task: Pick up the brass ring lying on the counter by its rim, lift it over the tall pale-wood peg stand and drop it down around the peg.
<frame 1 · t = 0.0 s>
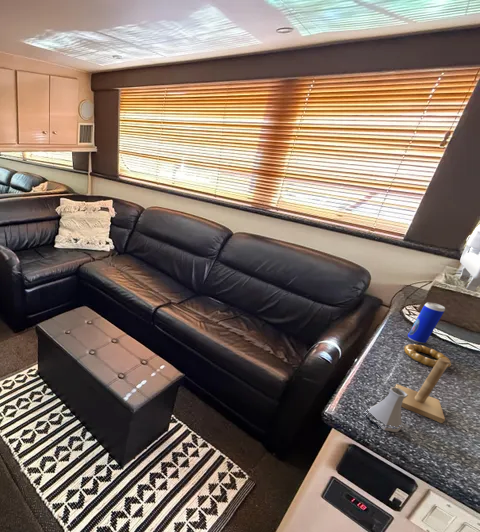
hand: (466, 285, 100), 27 cm above the counter, tool pointing down, fingers open, 8 cm apart
beverage can: (415, 340, 120), on the counter
ring: (426, 355, 108), point 1 cm above the counter
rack: (416, 404, 89), on the counter
flask: (381, 421, 83), on the counter
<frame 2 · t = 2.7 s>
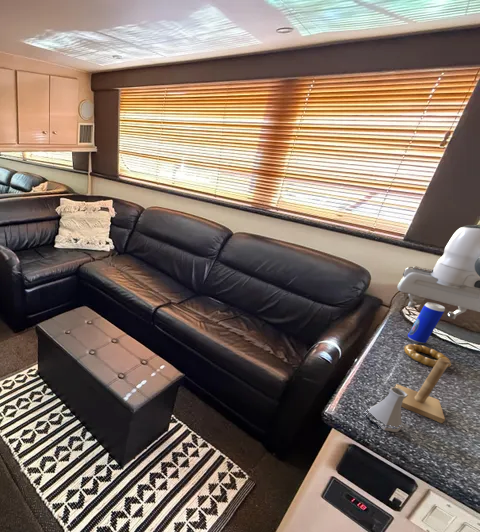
hand: (430, 312, 105), 17 cm above the counter, tool pointing down, fingers open, 8 cm apart
nothing on the counter moved.
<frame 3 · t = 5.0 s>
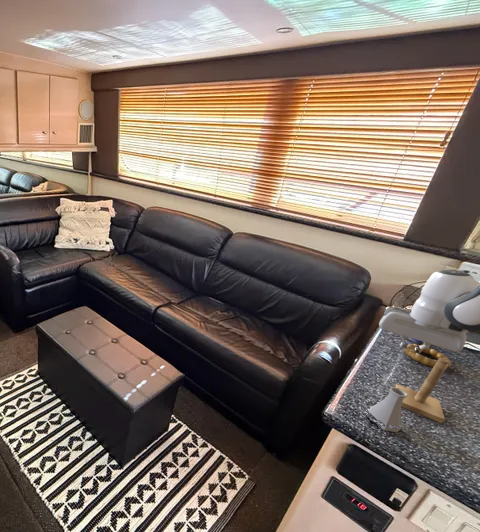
hand: (409, 349, 111), 2 cm above the counter, tool pointing down, fingers closed on ring, 2 cm apart
ring: (426, 355, 108), point 1 cm above the counter, touching gripper
everything else where it was.
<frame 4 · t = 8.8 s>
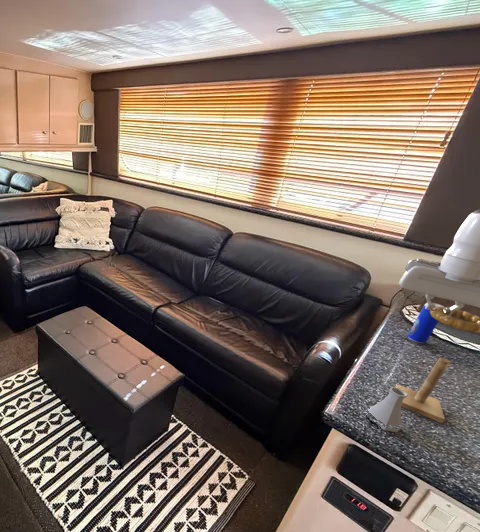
hand: (437, 311, 91), 23 cm above the counter, tool pointing down, fingers closed on ring, 2 cm apart
ring: (458, 319, 88), point 23 cm above the counter, touching gripper
everything else where it was.
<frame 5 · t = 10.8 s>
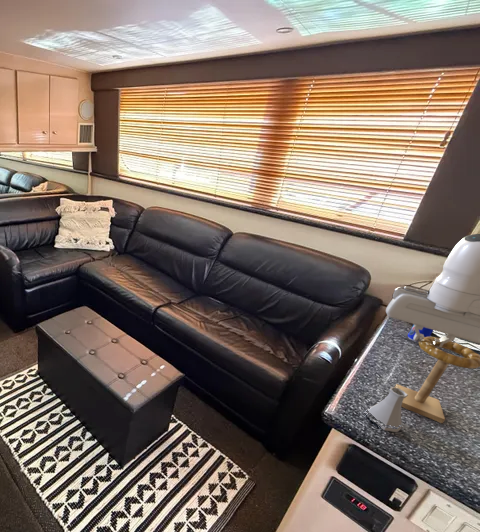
hand: (426, 343, 84), 18 cm above the counter, tool pointing down, fingers closed on ring, 2 cm apart
ring: (449, 351, 82), point 18 cm above the counter, touching gripper
everything else where it was.
when the fingers open (13 cm above the counter, at t = 12.6 s): ring drops 10 cm, resting on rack.
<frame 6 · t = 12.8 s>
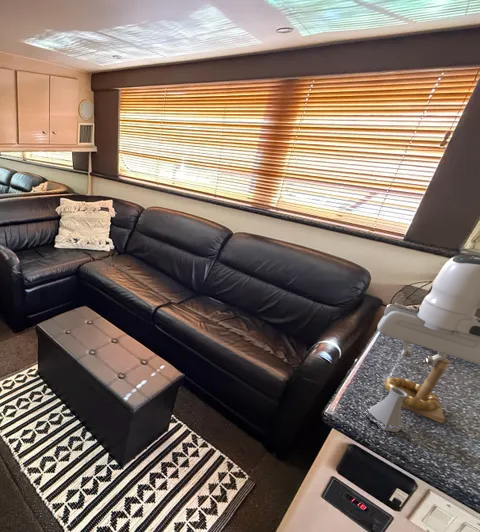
hand: (416, 359, 86), 13 cm above the counter, tool pointing down, fingers open, 3 cm apart
ring: (411, 393, 89), point 3 cm above the counter, touching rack
everything else where it was.
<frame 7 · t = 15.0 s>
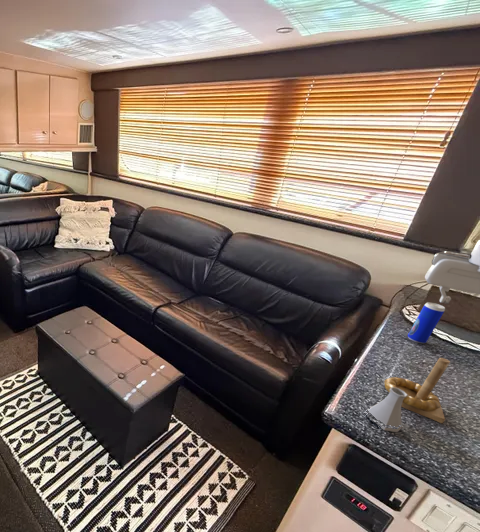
hand: (469, 308, 83), 28 cm above the counter, tool pointing down, fingers open, 8 cm apart
nothing on the counter moved.
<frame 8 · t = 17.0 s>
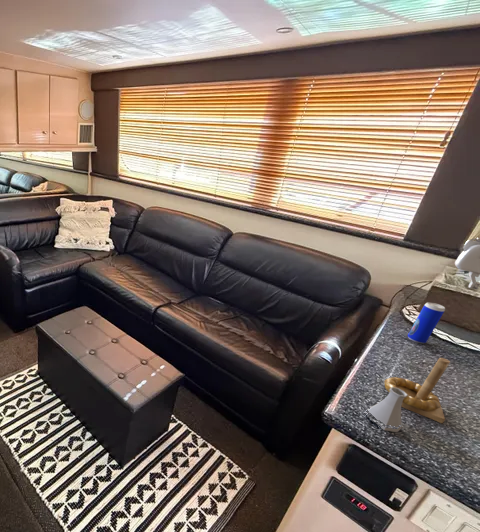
nothing on the counter moved.
at the end: ring 2.1 cm from the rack (horizontally); ring point 2.7 cm above the counter; the gripper is holding nothing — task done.
